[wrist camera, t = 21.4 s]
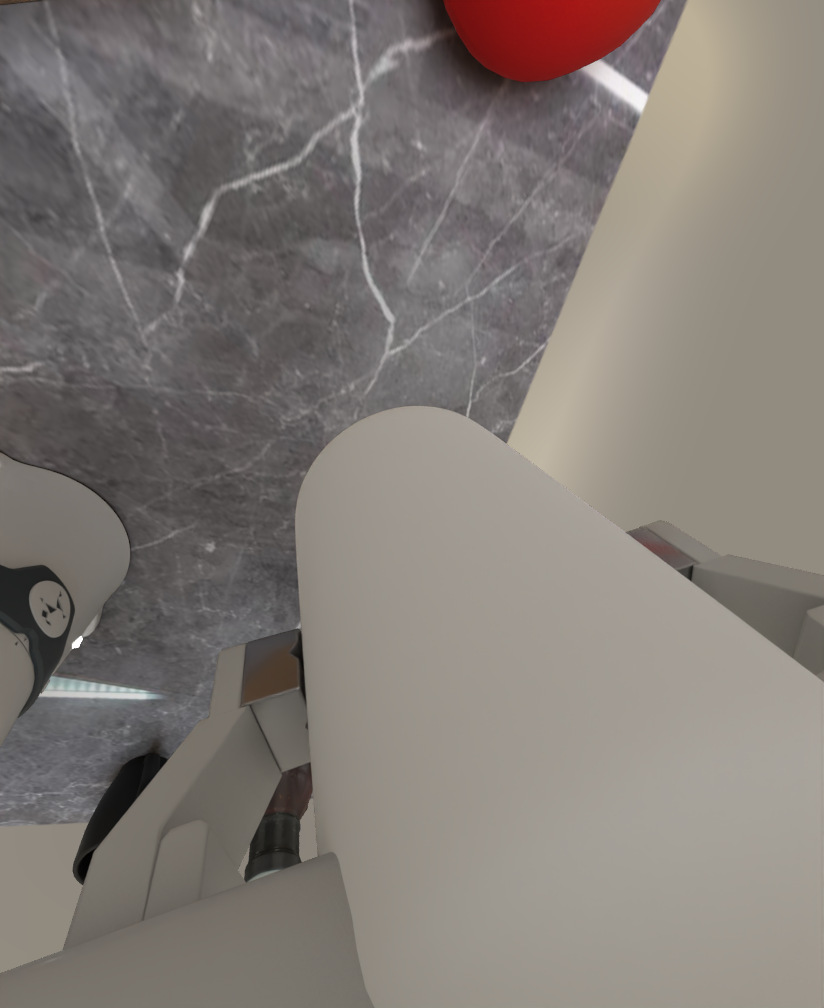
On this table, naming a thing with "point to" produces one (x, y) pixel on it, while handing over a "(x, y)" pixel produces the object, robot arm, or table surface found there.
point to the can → (546, 743)
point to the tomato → (544, 33)
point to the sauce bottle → (281, 825)
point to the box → (13, 1)
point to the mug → (115, 807)
